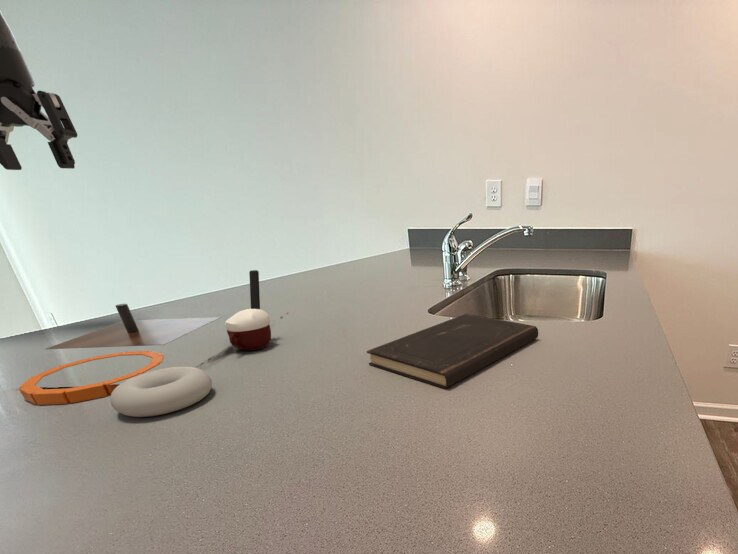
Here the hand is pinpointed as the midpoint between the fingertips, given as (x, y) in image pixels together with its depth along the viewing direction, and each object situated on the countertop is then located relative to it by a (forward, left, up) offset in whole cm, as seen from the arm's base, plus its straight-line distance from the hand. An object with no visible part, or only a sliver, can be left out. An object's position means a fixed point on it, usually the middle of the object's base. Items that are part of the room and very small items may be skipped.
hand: (40, 169), depth 67 cm
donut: (+32, -32, -28) cm, 53 cm away
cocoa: (+33, -12, -28) cm, 45 cm away
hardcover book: (+68, -18, -28) cm, 76 cm away
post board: (+10, -6, -28) cm, 30 cm away
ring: (+17, -24, -28) cm, 41 cm away
